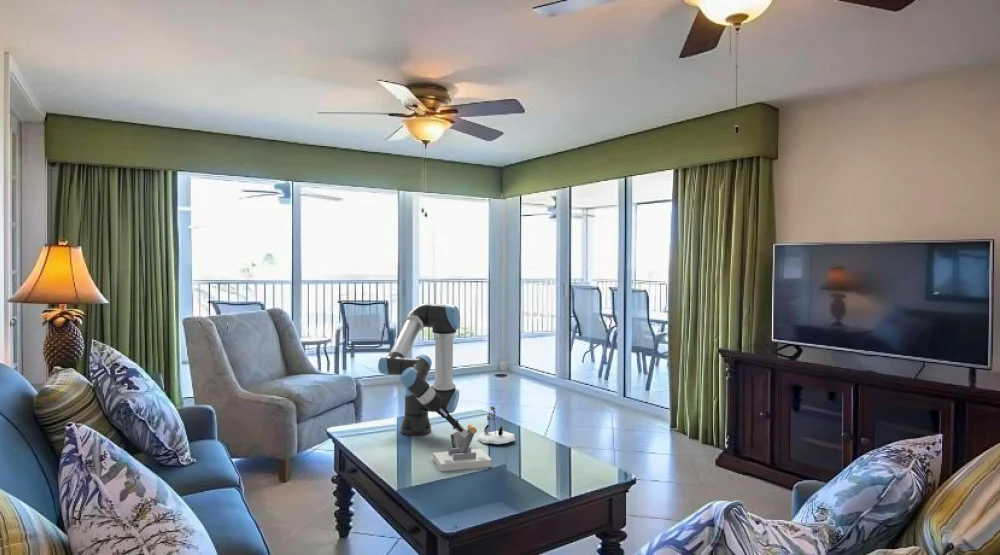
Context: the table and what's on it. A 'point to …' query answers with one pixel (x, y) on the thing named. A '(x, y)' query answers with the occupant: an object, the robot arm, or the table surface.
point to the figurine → (495, 433)
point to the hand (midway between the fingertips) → (466, 435)
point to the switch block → (461, 459)
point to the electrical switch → (456, 439)
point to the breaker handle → (467, 439)
